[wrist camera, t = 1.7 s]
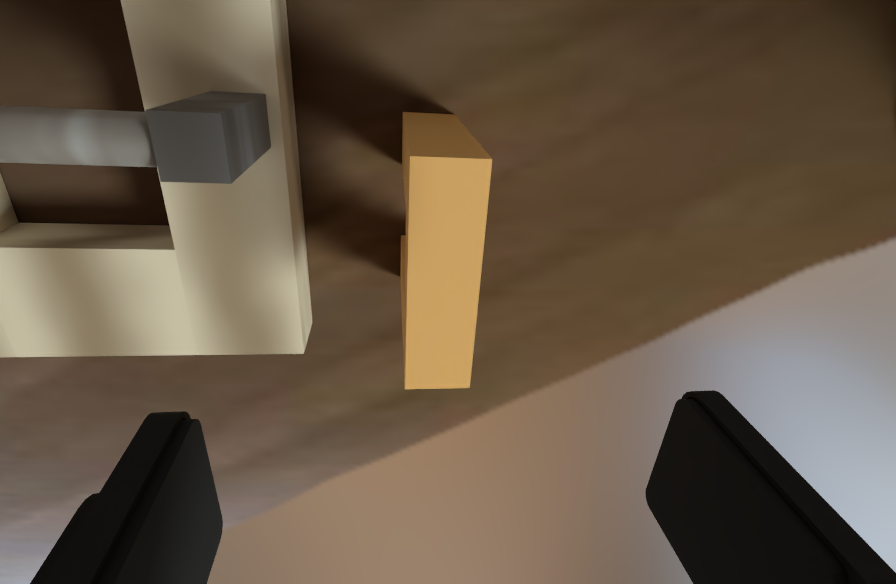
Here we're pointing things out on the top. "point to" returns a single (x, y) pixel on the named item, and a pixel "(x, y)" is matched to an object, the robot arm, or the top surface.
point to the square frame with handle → (171, 200)
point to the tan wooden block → (441, 248)
